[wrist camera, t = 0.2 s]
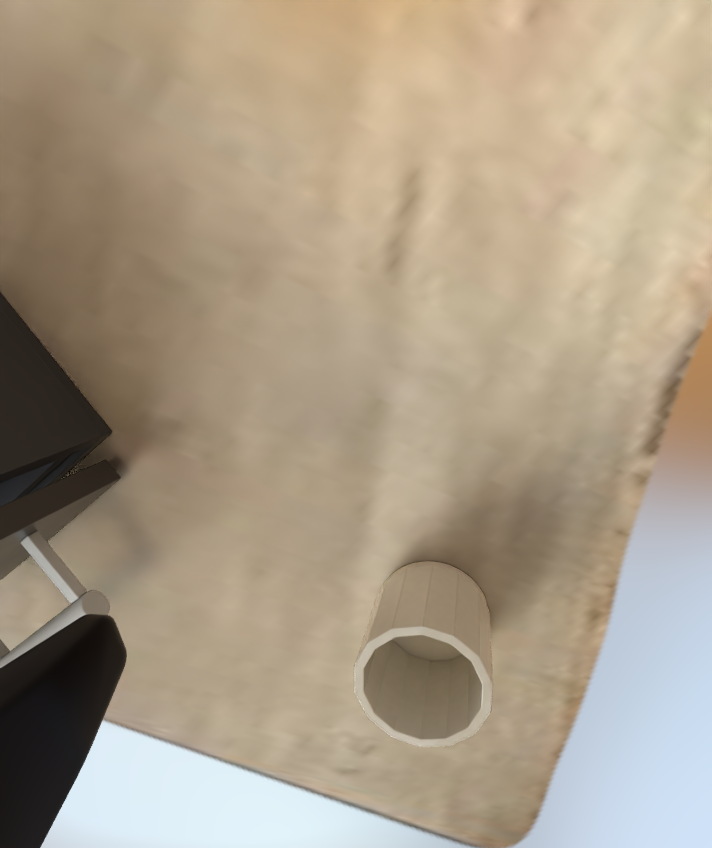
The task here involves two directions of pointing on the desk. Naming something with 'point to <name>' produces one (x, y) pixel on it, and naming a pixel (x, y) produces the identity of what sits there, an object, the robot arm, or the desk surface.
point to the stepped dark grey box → (39, 407)
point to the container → (427, 657)
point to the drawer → (36, 523)
